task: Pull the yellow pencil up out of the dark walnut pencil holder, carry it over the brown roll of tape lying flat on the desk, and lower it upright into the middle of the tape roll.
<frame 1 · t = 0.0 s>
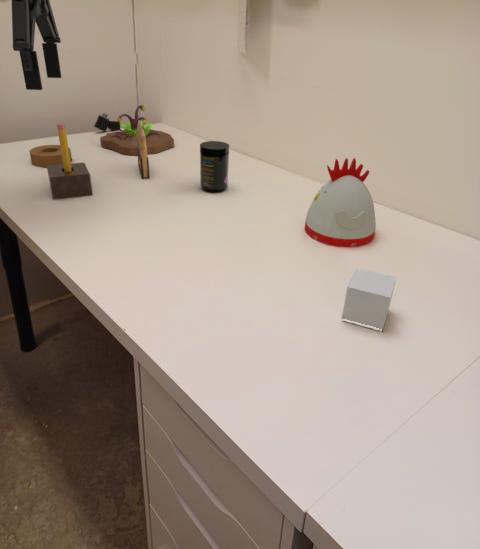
hand: (45, 83, 94), 24 cm above the table, tool pointing down, fingers open, 13 cm apart
tape roll: (51, 161, 126), on the table
light grey cube: (364, 316, 71), on the table
pencil holder: (70, 190, 109), on the table
supplement container: (214, 188, 114), on the table
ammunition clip: (143, 172, 122), on the table
pencil: (66, 158, 105), in the pencil holder
kitchen timer: (338, 232, 96), on the table
lighter: (107, 131, 154), on the table
plant: (139, 145, 142), on the table
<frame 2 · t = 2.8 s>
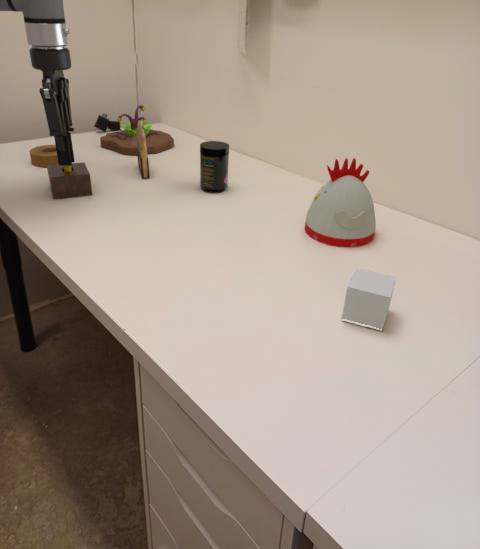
hand: (66, 163, 106), 6 cm above the table, tool pointing down, fingers closed on pencil, 1 cm apart
pencil: (66, 158, 105), in the pencil holder, touching gripper
everything else where it was.
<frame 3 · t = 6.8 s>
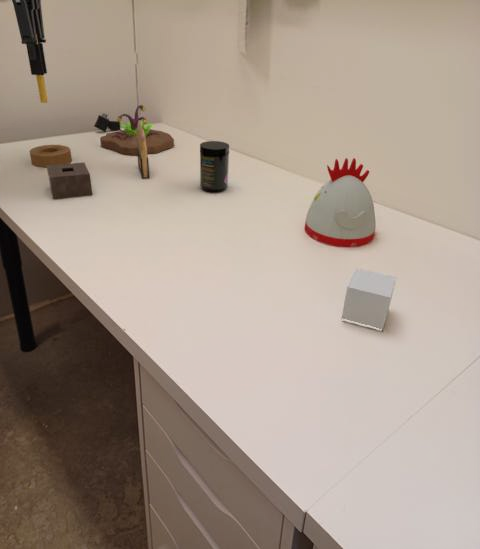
hand: (39, 73, 112), 22 cm above the table, tool pointing down, fingers closed on pencil, 1 cm apart
pencil: (38, 69, 112), point 23 cm above the table, touching gripper
everything else where it was.
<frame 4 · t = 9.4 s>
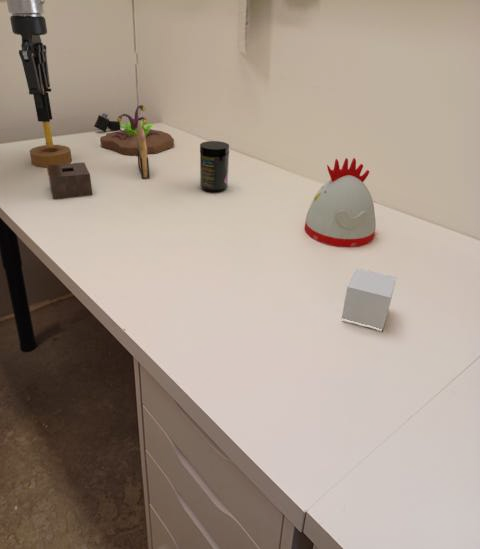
hand: (45, 120, 121), 11 cm above the table, tool pointing down, fingers closed on pencil, 1 cm apart
pencil: (44, 115, 120), point 12 cm above the table, touching gripper
everything else where it was.
when the fingers open (6 cm above the table, at t = 10.9 s): pencil stays where it is, resting in tape roll.
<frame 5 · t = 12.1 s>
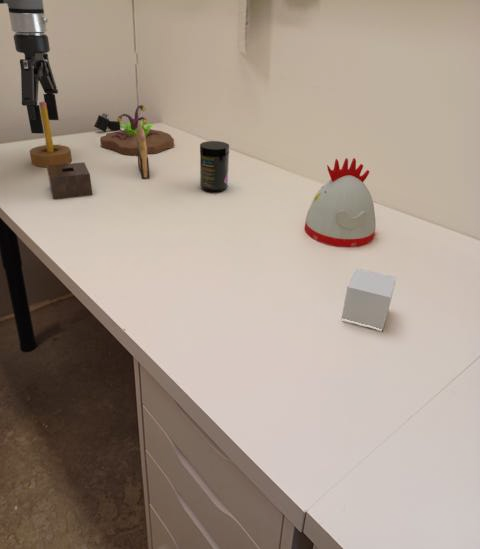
hand: (45, 126, 122), 9 cm above the table, tool pointing down, fingers open, 13 cm apart
pencil: (47, 132, 122), in the tape roll
everything else where it was.
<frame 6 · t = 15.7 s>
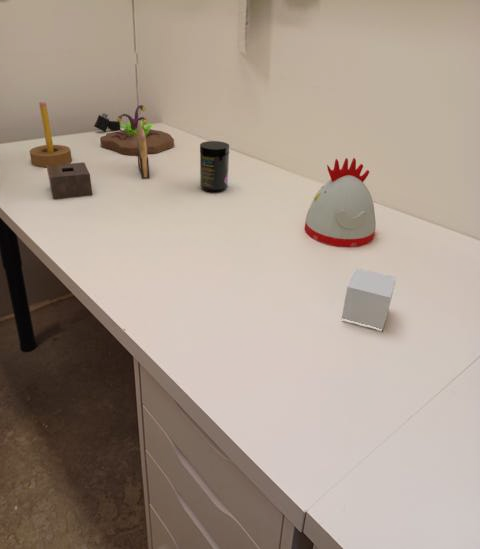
nothing on the table moved.
at the end: pencil 0.1 cm off-centre on the tape roll, point 7.5 cm above the tape roll's base; the gripper is holding nothing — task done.
